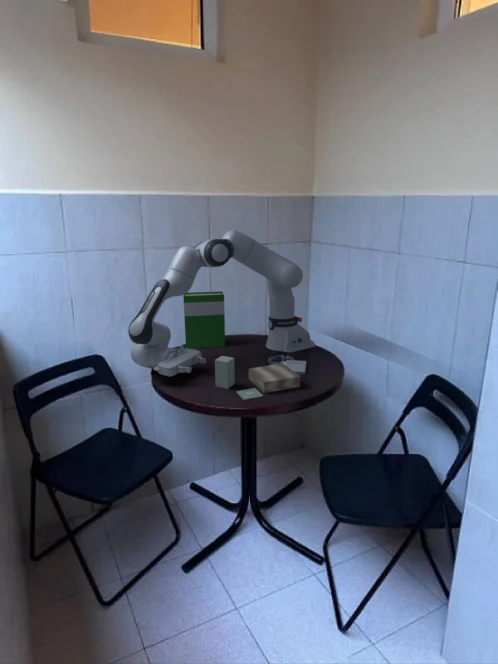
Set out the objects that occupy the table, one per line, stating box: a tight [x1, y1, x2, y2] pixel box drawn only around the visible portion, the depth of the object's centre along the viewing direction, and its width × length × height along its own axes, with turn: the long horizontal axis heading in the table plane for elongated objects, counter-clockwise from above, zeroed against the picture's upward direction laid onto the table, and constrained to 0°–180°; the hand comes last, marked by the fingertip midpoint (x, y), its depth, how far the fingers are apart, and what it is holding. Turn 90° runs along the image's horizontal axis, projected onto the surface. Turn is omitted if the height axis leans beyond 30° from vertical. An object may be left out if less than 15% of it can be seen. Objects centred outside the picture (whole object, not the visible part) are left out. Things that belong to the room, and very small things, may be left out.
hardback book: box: [182, 290, 226, 349], centre depth 201 cm, size 18×7×24 cm, turn 99°
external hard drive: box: [284, 359, 307, 375], centre depth 176 cm, size 2×8×12 cm
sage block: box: [214, 355, 236, 390], centre depth 159 cm, size 5×5×10 cm
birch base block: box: [248, 363, 301, 394], centre depth 162 cm, size 14×14×4 cm
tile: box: [235, 387, 264, 401], centre depth 152 cm, size 7×7×1 cm
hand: (198, 365), depth 164 cm, fingers open, 8 cm apart
